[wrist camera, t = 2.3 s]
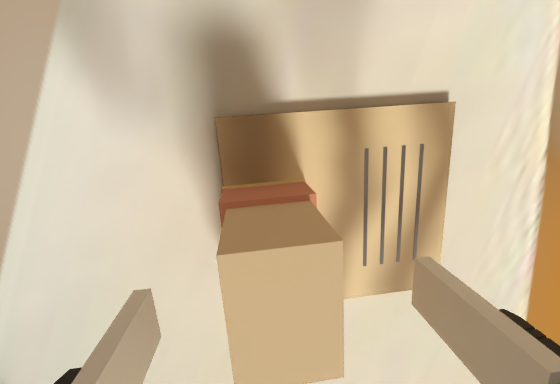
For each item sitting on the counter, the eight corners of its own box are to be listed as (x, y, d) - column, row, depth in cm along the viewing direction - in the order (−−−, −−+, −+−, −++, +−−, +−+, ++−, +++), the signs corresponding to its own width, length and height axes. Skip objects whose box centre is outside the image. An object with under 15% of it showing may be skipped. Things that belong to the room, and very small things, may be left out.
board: (239, 309, 24) (239, 313, 23) (215, 117, 20) (215, 117, 19) (434, 282, 26) (438, 286, 25) (450, 102, 21) (455, 101, 21)
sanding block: (234, 283, 23) (226, 405, 13) (222, 186, 20) (201, 245, 11) (308, 274, 23) (353, 383, 14) (304, 178, 21) (354, 228, 11)
